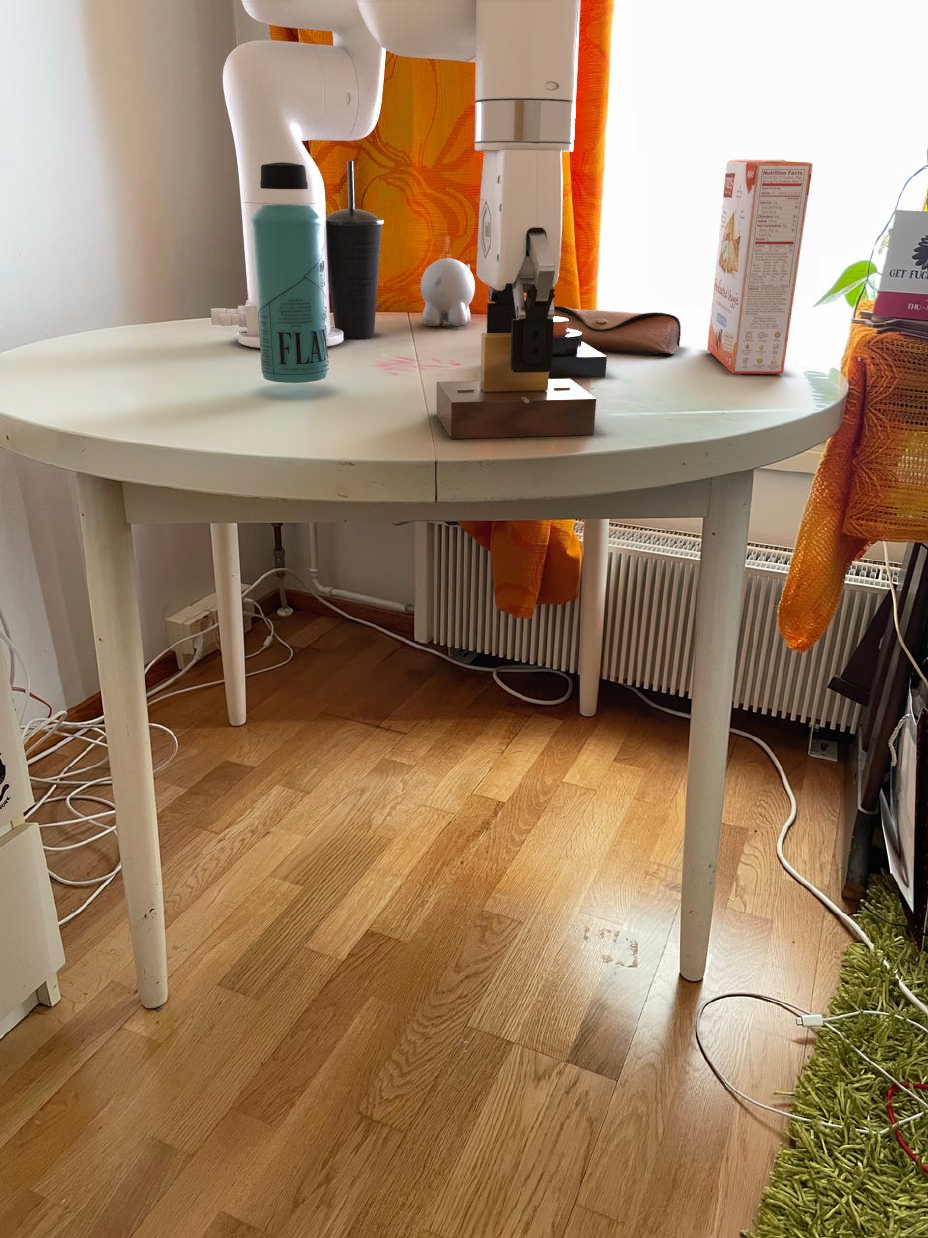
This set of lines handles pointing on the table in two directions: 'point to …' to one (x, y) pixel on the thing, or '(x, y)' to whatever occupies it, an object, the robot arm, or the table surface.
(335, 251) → the drinking cup
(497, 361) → the tan cardboard box
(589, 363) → the block
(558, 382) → the brown wooden base
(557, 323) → the bell button
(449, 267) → the round bodied animal figurine
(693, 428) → the table surface
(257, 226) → the beverage bottle
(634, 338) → the sunglasses case
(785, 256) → the cracker box
